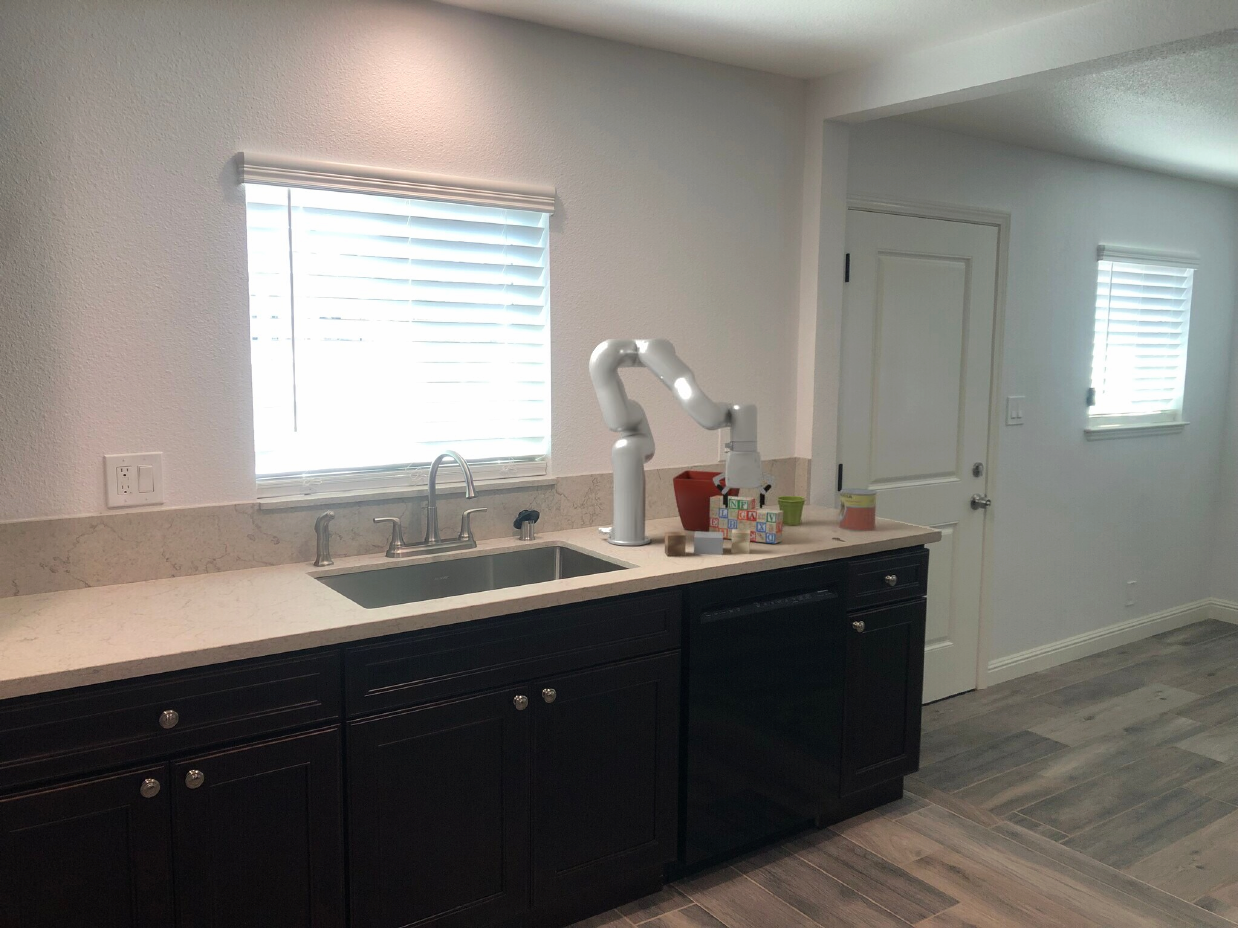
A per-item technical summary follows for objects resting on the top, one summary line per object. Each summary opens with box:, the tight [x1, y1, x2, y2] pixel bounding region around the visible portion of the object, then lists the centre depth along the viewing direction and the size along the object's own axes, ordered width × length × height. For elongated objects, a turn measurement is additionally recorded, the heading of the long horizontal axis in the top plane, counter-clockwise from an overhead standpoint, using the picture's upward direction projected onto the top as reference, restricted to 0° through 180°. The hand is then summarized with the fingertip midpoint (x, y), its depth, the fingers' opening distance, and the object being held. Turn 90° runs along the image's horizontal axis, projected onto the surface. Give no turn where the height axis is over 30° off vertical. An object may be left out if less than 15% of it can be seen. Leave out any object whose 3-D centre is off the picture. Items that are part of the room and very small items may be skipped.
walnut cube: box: [664, 531, 687, 558], centre depth 262 cm, size 5×5×6 cm
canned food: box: [838, 488, 877, 533], centre depth 301 cm, size 11×11×12 cm
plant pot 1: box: [672, 469, 741, 532], centre depth 299 cm, size 19×19×17 cm
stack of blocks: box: [708, 496, 784, 544], centre depth 282 cm, size 21×6×12 cm, turn 61°
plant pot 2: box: [776, 495, 807, 527], centre depth 307 cm, size 9×9×9 cm
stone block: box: [693, 530, 724, 556], centre depth 266 cm, size 8×8×5 cm
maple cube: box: [730, 529, 751, 555], centre depth 266 cm, size 5×5×6 cm
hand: (743, 507), depth 265 cm, fingers open, 9 cm apart
